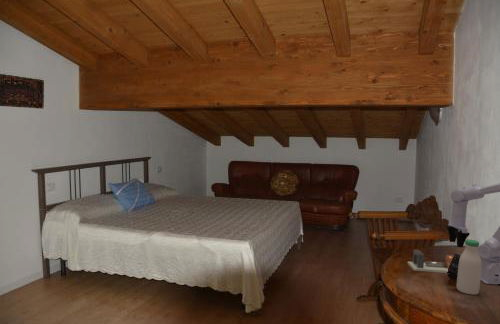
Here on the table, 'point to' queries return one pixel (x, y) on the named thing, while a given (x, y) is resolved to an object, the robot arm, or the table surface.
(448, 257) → the hook rod
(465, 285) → the milk bottle
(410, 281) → the table surface
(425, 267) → the board
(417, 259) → the eye post
